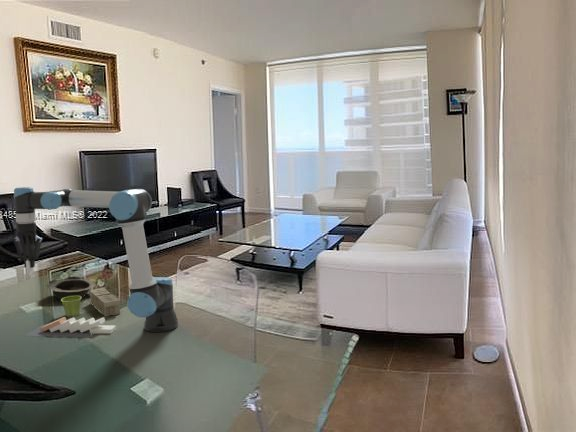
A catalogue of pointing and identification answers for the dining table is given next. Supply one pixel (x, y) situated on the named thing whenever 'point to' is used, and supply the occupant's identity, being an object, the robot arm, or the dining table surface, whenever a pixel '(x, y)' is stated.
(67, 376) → the dining table surface
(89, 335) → the felt runner
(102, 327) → the domino
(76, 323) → the domino
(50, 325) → the domino
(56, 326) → the domino
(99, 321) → the domino
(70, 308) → the plant pot
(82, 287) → the stone bowl
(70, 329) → the domino
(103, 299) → the block tower
